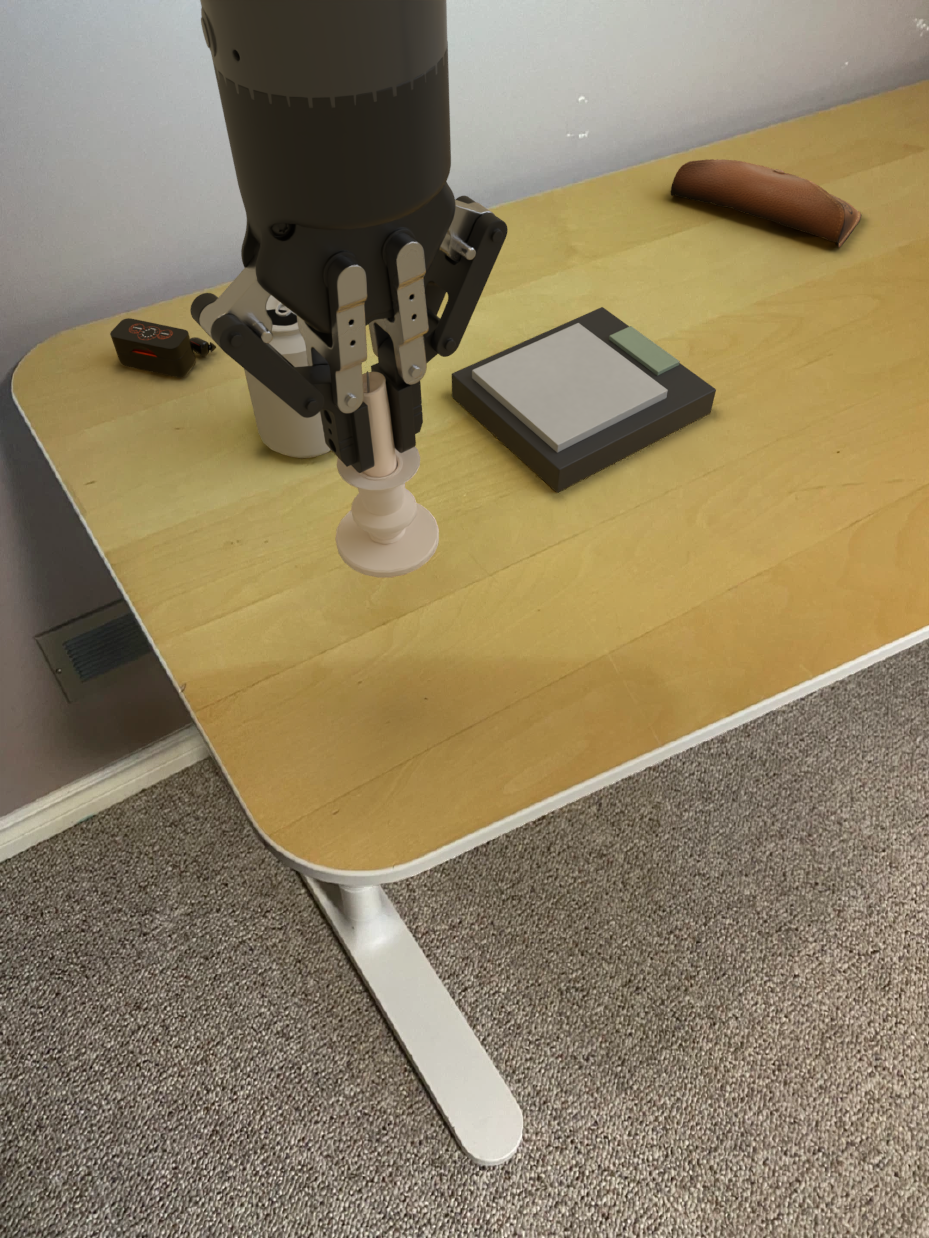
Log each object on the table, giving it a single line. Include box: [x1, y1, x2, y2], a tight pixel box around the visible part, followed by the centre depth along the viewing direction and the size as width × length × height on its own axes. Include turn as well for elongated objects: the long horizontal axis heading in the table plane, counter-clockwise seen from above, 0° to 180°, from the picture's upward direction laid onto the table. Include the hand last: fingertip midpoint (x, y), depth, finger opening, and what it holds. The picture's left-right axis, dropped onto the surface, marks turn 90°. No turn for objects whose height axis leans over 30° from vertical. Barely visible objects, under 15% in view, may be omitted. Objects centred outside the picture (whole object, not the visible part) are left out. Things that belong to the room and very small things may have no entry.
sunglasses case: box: [670, 158, 863, 248], centre depth 96 cm, size 18×7×7 cm
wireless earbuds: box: [109, 317, 217, 379], centre depth 82 cm, size 5×7×3 cm, turn 72°
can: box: [243, 295, 332, 459], centre depth 72 cm, size 8×8×12 cm
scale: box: [451, 306, 717, 493], centre depth 78 cm, size 16×14×3 cm
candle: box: [335, 370, 440, 579], centre depth 45 cm, size 5×5×10 cm
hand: (377, 449), depth 44 cm, fingers closed on candle
